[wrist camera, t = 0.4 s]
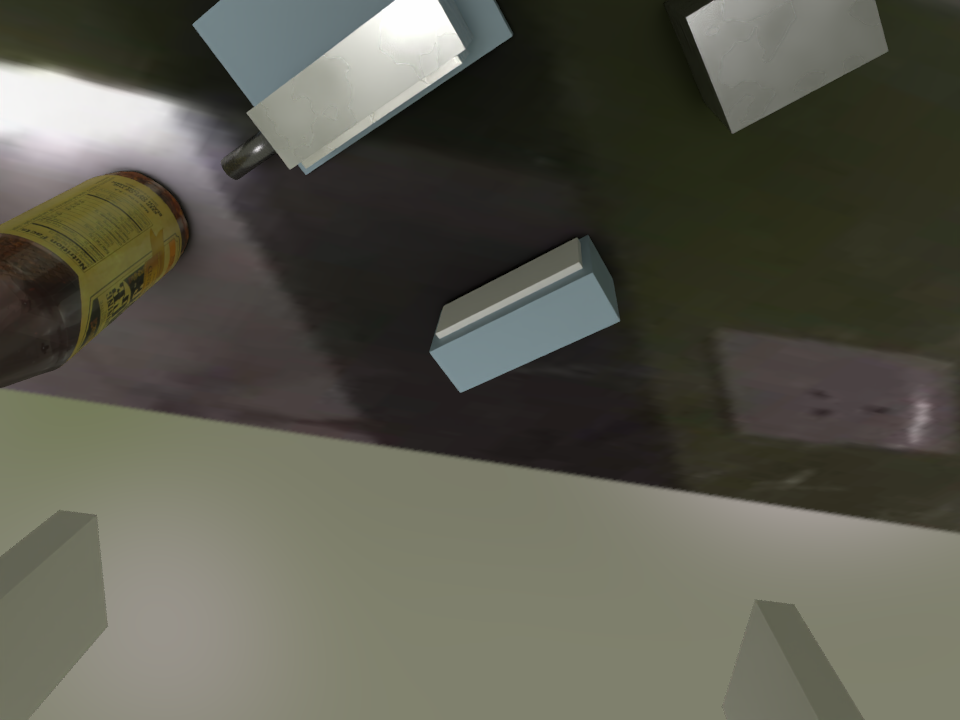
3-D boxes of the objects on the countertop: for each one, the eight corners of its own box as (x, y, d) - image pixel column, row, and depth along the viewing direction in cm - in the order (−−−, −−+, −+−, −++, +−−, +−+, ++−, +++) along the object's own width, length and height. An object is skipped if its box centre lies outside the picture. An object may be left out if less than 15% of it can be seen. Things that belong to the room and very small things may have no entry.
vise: (411, -160, 26) (386, -177, 22) (636, 267, 36) (647, 308, 32) (199, 22, 31) (148, 35, 27) (450, 357, 41) (439, 402, 37)
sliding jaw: (438, -27, 28) (424, -23, 25) (478, 45, 29) (470, 58, 26) (225, 133, 33) (192, 153, 30) (268, 188, 34) (242, 212, 31)
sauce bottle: (146, 280, 40) (-138, 521, 24) (69, 194, 37) (-314, 401, 21) (221, 236, 38) (-34, 470, 21) (146, 142, 35) (-215, 326, 18)
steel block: (797, -82, 27) (852, -85, 22) (830, 31, 29) (888, 51, 24) (663, 3, 29) (686, 17, 24) (703, 101, 31) (732, 133, 26)
